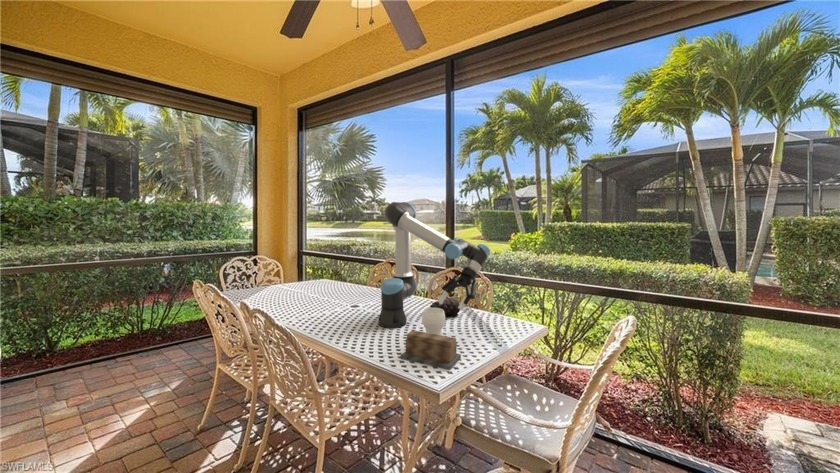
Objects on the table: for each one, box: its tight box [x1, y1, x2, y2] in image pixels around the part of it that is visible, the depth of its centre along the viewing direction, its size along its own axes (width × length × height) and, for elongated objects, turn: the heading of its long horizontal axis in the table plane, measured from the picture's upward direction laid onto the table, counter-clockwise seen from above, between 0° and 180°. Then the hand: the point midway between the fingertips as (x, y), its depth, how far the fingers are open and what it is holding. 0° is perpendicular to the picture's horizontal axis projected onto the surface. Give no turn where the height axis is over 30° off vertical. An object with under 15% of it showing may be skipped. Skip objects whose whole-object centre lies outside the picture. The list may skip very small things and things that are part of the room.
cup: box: [421, 307, 446, 336], centre depth 162 cm, size 11×11×15 cm
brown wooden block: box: [400, 329, 462, 371], centre depth 145 cm, size 22×12×10 cm, turn 64°
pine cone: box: [429, 297, 461, 318], centre depth 202 cm, size 10×18×10 cm, turn 80°
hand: (449, 306), depth 167 cm, fingers open, 13 cm apart
